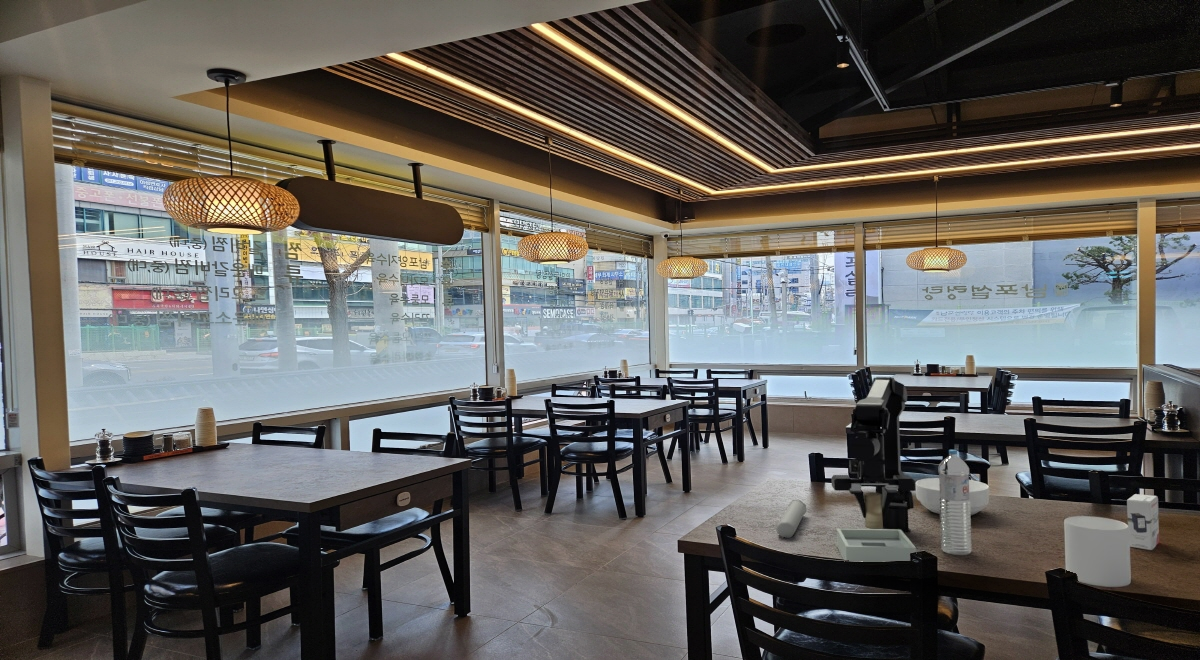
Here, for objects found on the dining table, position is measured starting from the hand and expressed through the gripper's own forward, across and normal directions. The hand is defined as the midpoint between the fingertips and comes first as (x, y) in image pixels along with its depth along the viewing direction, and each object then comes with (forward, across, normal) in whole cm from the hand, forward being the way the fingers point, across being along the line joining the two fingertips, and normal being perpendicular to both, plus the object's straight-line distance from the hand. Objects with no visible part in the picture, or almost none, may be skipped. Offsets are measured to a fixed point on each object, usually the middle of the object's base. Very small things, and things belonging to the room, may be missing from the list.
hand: (873, 517), depth 179 cm
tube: (+10, +18, -26) cm, 33 cm away
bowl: (+10, -30, -44) cm, 54 cm away
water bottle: (+10, -20, -5) cm, 23 cm away
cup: (+10, -44, +12) cm, 47 cm away
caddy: (+9, 0, 0) cm, 9 cm away
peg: (+2, 0, 0) cm, 2 cm away
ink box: (+10, -66, -14) cm, 68 cm away
